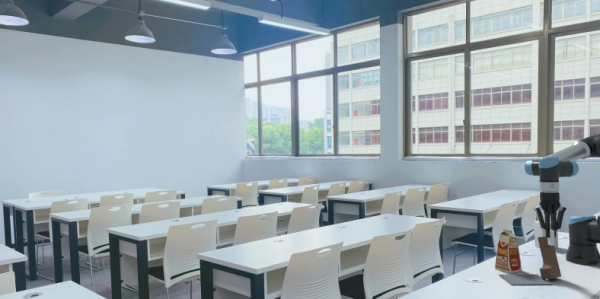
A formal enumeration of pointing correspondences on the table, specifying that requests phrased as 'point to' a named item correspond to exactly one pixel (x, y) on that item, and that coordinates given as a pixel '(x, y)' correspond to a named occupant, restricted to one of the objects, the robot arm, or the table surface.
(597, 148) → the robot arm
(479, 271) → the table surface
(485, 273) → the table surface
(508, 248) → the milk carton
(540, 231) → the supplement box
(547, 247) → the wooden block
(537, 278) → the mat
